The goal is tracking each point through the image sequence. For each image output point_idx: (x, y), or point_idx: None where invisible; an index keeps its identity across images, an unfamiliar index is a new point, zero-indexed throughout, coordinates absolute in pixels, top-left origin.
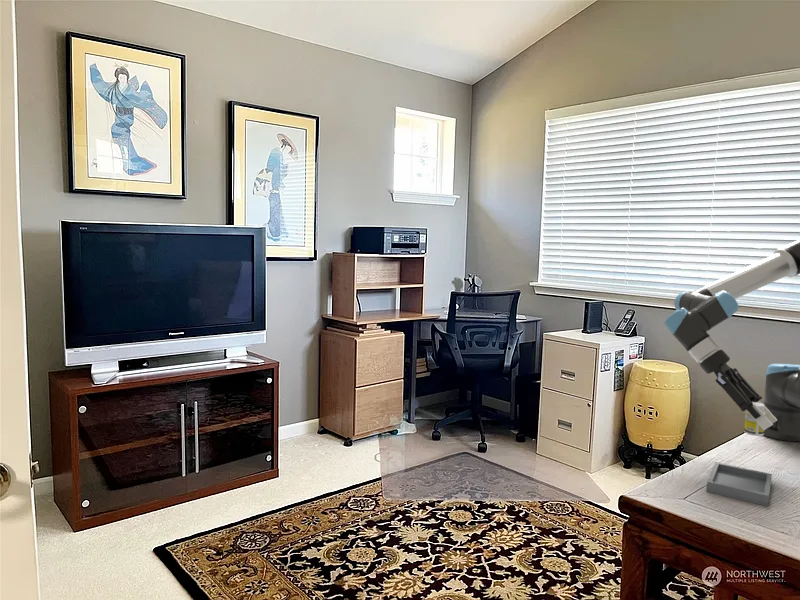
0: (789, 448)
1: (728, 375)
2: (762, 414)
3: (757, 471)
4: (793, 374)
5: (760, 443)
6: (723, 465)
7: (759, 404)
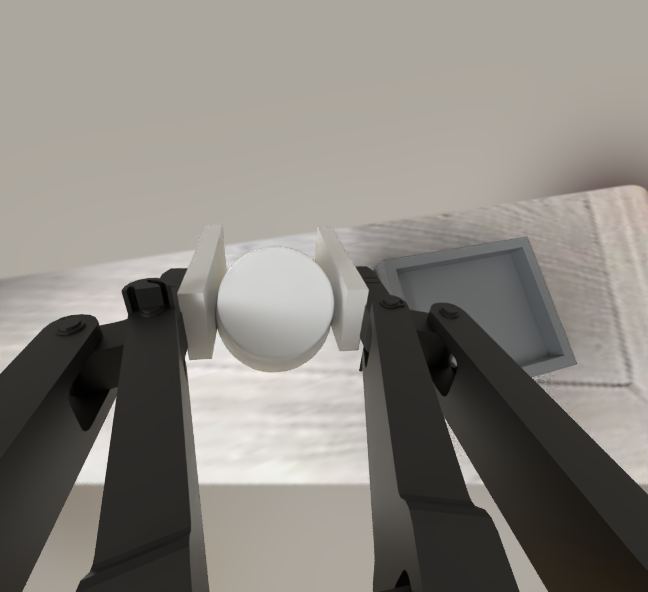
0: None
1: None
2: (346, 256)
3: (396, 293)
4: None
5: None
6: None
7: (275, 278)
